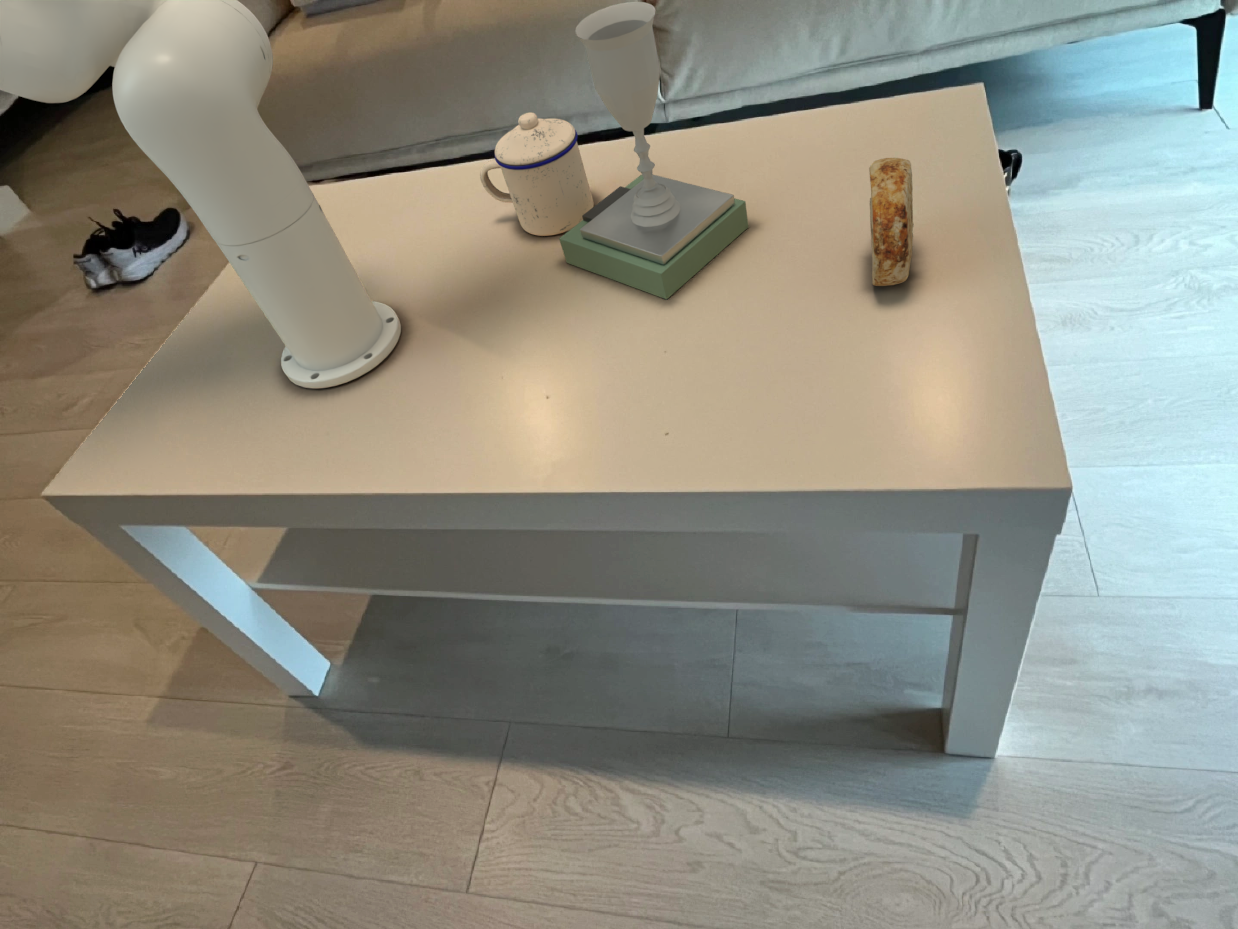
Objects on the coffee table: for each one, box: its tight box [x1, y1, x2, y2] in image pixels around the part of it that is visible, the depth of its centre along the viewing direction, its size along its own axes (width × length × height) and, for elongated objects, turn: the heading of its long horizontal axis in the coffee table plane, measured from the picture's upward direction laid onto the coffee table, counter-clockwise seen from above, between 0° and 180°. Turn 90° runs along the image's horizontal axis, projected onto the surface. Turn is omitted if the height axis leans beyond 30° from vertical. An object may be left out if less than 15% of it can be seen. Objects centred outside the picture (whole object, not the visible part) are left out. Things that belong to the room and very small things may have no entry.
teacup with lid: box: [479, 112, 595, 237], centre depth 89 cm, size 12×9×12 cm
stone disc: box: [868, 157, 914, 287], centre depth 70 cm, size 10×4×10 cm, turn 167°
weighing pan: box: [580, 173, 735, 265], centre depth 81 cm, size 11×11×1 cm
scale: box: [558, 174, 749, 300], centre depth 83 cm, size 14×13×4 cm
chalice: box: [574, 1, 681, 227], centre depth 74 cm, size 7×7×18 cm
